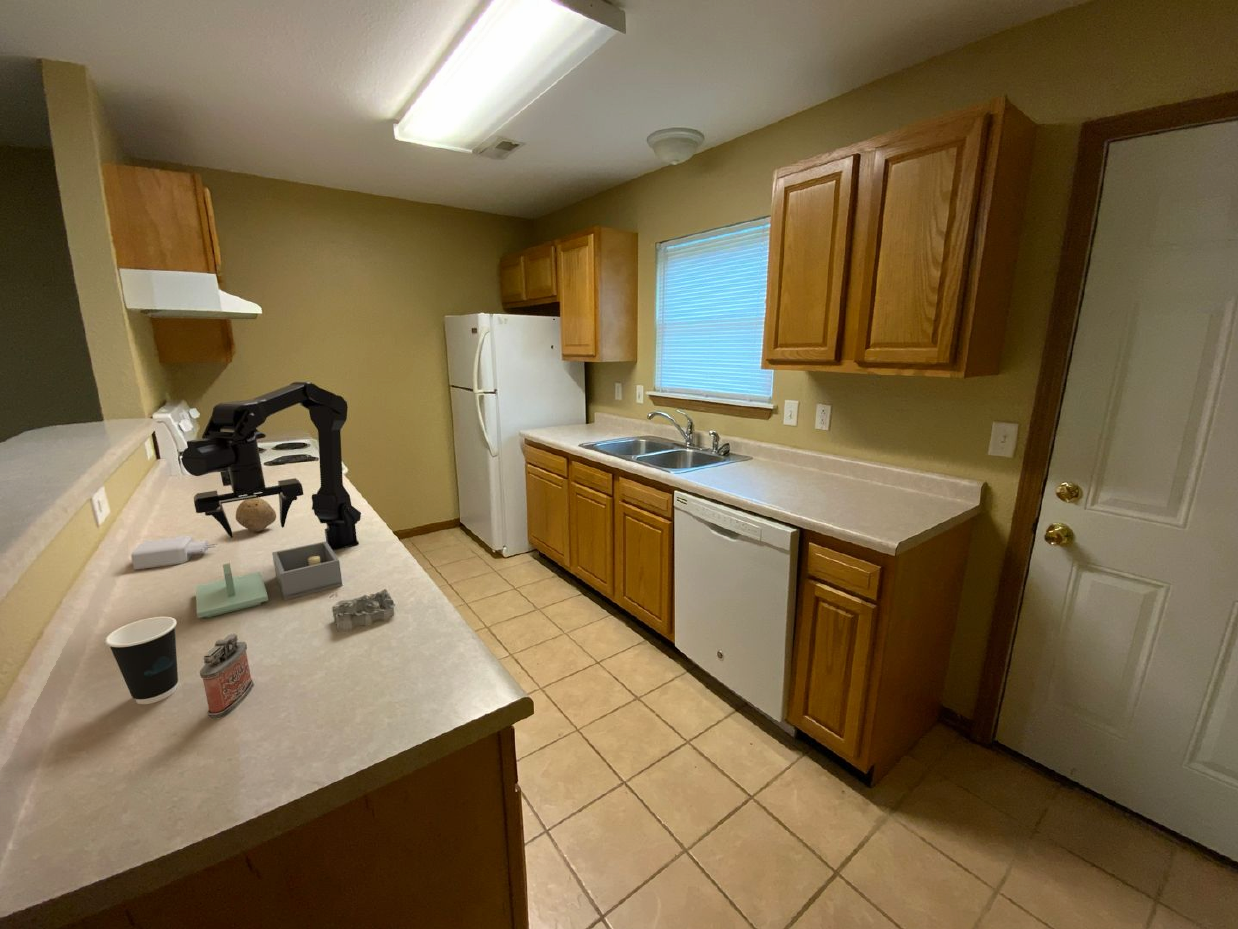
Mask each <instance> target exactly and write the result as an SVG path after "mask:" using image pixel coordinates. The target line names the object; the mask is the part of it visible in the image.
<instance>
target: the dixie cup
mask: <svg viewBox="0 0 1238 929" xmlns="http://www.w3.org/2000/svg"><path fill="white" fill-rule="evenodd" d="M177 624H178V623H177V619H175V618H173V617H170V616H155V617H149V618H144V619H140V620H136V621H134V622H130V623H127V624H125V625H123V626H121V627H119V628H117V629H115V630H113V631H112V632H110V634H108V635H107V637H106V638H105V641H104V642H105V644H106V645H107V646H108V647H109V648H110V650H111V652H112V655H113V657H114V659H115V662H116V664H117V667H118V669H119V671H120V673H121V675H122V677H123V680H124V681H125V682H124V683H125V685H126V686H127V690H128V691H129V694H130V695H131V698H133V699H134V700H135V702H136V703H137V704H138V705H148V704H154V703H156V702H160V701H163V700H164V699H166V698H168V697H169V696H171V695H173V694H174V693H175V692H176V690H177V684H178V682H179V676H178V675H179V674H178V673H179V672H178V661H177V660H178V659H177V657H178V656H177V643H176V642H177V641H176V626H177Z"/></svg>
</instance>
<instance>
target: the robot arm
mask: <svg viewBox="0 0 1238 929" xmlns="http://www.w3.org/2000/svg"><path fill="white" fill-rule="evenodd" d="M296 405H300V406H301V407H303V408H305V409H306V410H308V412H309V418H310V420H311V422H312V424H313V425H314V427H315V428H316V430H317V435H318V436H317V439H318V456H319V457H318V458H319V460H318V461H319V476H320V477H319V479H320V487H319V489H318V490H317V492H316V493H312V495H311V502H312V506H311V510H312V511H313V513H314V516H316V517H317V519H318V521H319V523H320V524H326V528H325V529H324V536H325V541H327V543H328V544H329V546H330V547H331V549H332V550H333V551H334V550H339V549H342V548H348V547H353V546H357V545H359V544H360V542H359V541H358V538H357V528H356V524H358V522H359V521H361V518H362V517H361V516H362V512H361V511H360V510H358V509H357V508H356V507H355V506H353V504H352V500H351V499H352V498H351V496H350V494H349V492H348V491H347V489H346V488H345V486H344V481H343V463H342V462H343V460H342V458H343V457H342V435H341V432H342V428H343V427H344V425H345V424H346V422H347V419H348V417H347V416H348V409H349V408H348V402H347V400H346V399H344V397H342V396H341V395H339V394H335V393H334V392H331V391H329V390H326V389H324V388H321V387H319V386H317V385H316V384H315V383H312V382H309V381H294V382H291V383H290V384H289V385H286V386H283V387H280V388H278V389H276V390H273V391H271V392H270V391H269V392H268V393H265V394H262V395H259V396H257V397H254V398H249V399H243V400H233V401H226V402H220V403H217V404H216V405H214V407H213V408H212V413H211V416H210V418H209V420H208V423H207V425H206V427H205V430H204V432H203V433H202V435H201V438H200V439H193V440H187V442H186V446H187V447H186V448H185V449H184V450H183V452H182V454H181V455H182V456H181V457H180V459H181V463H182V466H183V467H184V469H185V470H186V472H187V473H189V474H190V475H192V476H194V477H201V476H204V475H208V474H211V473H215V472H219V471H220V477H221V481H222V482H221V483H222V486H223V487H227V486H231V490H232V492H228V493H222V494H219V493H218V490H212V491H204V492H198V493H197V492H196V494H195V495H194V496H193V505H194V508H195V509H194V510H195V512H196V514H203V513H204V515H205V516H208V517H209V516H211V517H213V518H214V519H215V521H217V522H218V523H219V524H220V525H221V526H222V528H223V529H224V531H225V532H226V533H227V535H228V537H229V538H230V539H232V538H234V536H233V534H234V533H233V530H232V526H231V524H230V523H229V520H228V517H227V515H226V514H227V513H225V509H224V507H223V504H226V503H233V502H240V501H244V500H246V499H252V498H264V497H269V496H274V495H278V501H279V502H278V503H279V504H278V505H279V521H280V526H281V528H285V524H286V521H287V517H288V512H289V511H290V508H291V505H292V503H293V501H297V500H298V497H301V496H303V495H304V489H303V484H302V483H301V481H300V479H297V478H295V477H294V478H289V479H281V480H278V481H277V485H272V486H267V487H266V482H265V476H264V472H263V464H262V460H261V455H260V449H259V446H258V444H259V443H258V440H260V439H264V438H266V434H265V433H263V432H261V431H259V430H258V429H257V428H259V427H260V426H262V425H263V424H265V423H266V420H267V418H269V417H271V416H272V415H275V414H276V413H279V412H281V411H283V410H286V409H289V408H291V407H293V406H296ZM226 469H228V470H226Z"/></svg>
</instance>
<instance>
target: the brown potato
mask: <svg viewBox="0 0 1238 929" xmlns="http://www.w3.org/2000/svg"><path fill="white" fill-rule="evenodd" d="M276 519H277V513H276V511H275V509H274V508H273V507H272V506H271V504H270V503H269V502H268V501H267V500H265V499H262V497H258V498H252V499H246V500H242V502H241V503H239V505H238V507H237V508H236V511H235V520H236V521H237V523H238V524H239V525H240V526H242V527H244V528H245V529H247V530H249V531H250V532H253V533H259V532H262V531H264V530H265V529H266V528H267V527H269V526H271V525H272V524H274V523H275V521H276Z"/></svg>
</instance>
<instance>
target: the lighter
mask: <svg viewBox="0 0 1238 929" xmlns="http://www.w3.org/2000/svg"><path fill="white" fill-rule="evenodd" d="M247 648H248V645H247V642H245V641H239V640H238V635H237V633H231V634H228V635H227V636H226V637H224V638H223V639H217V641H215V643H214V646H213V647H212V648H210V649H209V650H208V652H206V653H205V654H204V656H203V657H202V658H203V661H204V665H203V667H201V669H200V670H199V676H200V678H201V679H202V682H203V687H204V691H205V697H206V701H207V706H208V710H207V714H208V718H209V719H210V720H219V719H222V718H224V717H226V716H228V715H229V714H230V713H232V711H234V710H236V708H237V707H239V706H240V705H241V704H242V703H243V702H244V701H245V699H246V698H247V697H248V696H249V694H250V693H251V692H252V690H253V688H254V687H255V686H254V685H255V684H254V680H253V679H252V677H251V670H250V664H249V660H248V654H247Z"/></svg>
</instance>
